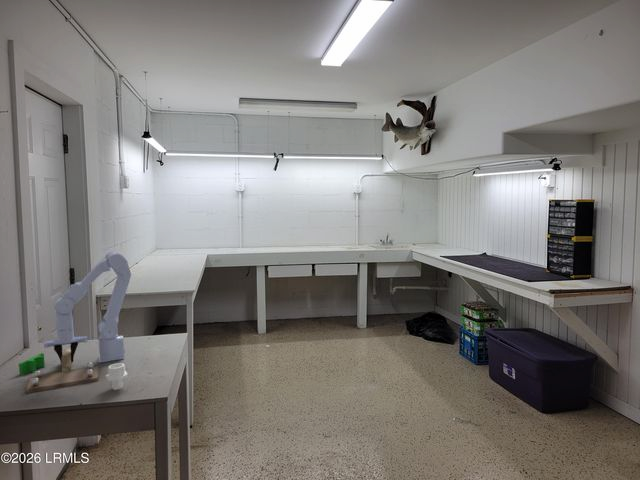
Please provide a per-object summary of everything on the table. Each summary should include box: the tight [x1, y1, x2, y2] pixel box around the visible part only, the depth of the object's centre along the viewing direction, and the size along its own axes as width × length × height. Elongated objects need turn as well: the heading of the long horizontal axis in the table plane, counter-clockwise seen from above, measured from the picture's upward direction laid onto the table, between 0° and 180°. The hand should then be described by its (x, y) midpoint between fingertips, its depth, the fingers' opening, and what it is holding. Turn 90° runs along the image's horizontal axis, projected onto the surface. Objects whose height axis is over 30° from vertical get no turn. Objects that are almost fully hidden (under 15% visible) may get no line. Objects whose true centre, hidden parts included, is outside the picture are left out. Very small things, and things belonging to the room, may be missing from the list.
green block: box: [18, 352, 45, 376], centre depth 169 cm, size 11×4×5 cm, turn 173°
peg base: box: [25, 361, 100, 394], centre depth 158 cm, size 22×12×4 cm, turn 117°
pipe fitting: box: [105, 362, 129, 391], centre depth 152 cm, size 6×7×8 cm
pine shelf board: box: [61, 348, 73, 372], centre depth 172 cm, size 3×12×5 cm, turn 27°
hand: (67, 362), depth 172 cm, fingers closed on pine shelf board, 3 cm apart
